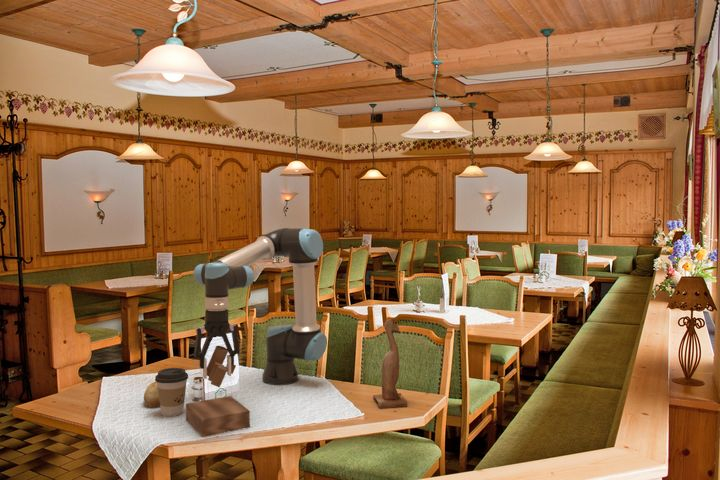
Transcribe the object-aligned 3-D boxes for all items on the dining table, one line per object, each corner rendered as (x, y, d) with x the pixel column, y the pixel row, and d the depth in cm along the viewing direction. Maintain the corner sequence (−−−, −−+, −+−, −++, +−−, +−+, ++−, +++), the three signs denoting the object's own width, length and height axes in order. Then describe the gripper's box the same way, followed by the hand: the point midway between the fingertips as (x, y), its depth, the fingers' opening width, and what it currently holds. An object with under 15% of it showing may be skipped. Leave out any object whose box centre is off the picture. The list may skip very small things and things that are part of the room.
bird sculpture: (409, 407, 219) (412, 321, 218) (378, 409, 216) (382, 322, 215) (399, 398, 230) (402, 316, 229) (370, 399, 227) (373, 316, 226)
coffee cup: (175, 420, 203) (174, 377, 202) (148, 416, 207) (147, 373, 206) (195, 409, 214) (195, 368, 213) (169, 405, 218) (168, 365, 217)
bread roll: (179, 396, 229) (179, 375, 229) (164, 409, 214) (164, 387, 214) (155, 395, 230) (155, 375, 229) (138, 408, 215) (138, 387, 214)
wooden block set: (222, 394, 190) (235, 365, 190) (197, 384, 190) (209, 355, 189) (231, 376, 208) (243, 349, 207) (208, 366, 207) (220, 340, 207)
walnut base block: (230, 412, 213) (230, 396, 212) (249, 428, 197) (249, 410, 197) (186, 420, 204) (185, 403, 204) (202, 438, 189) (202, 419, 189)
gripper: (187, 313, 191) (188, 383, 192) (249, 308, 200) (249, 375, 201) (183, 309, 197) (183, 377, 199) (243, 305, 207) (243, 370, 208)
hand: (217, 376), depth 200 cm, fingers closed on wooden block set, 7 cm apart
